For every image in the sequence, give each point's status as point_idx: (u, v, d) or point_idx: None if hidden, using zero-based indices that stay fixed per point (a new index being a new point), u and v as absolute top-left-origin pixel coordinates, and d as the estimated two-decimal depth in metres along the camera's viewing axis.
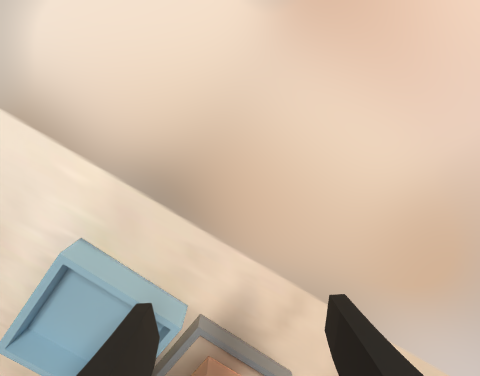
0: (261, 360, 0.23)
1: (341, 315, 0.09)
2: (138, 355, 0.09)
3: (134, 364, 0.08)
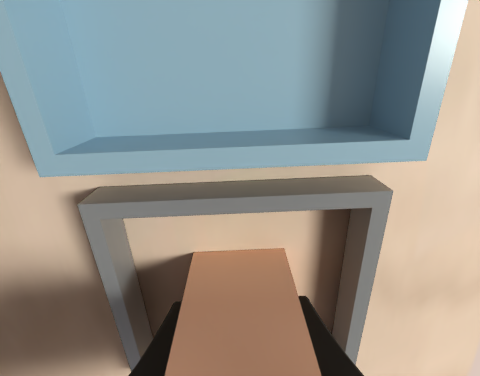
0: None
1: None
2: None
3: None
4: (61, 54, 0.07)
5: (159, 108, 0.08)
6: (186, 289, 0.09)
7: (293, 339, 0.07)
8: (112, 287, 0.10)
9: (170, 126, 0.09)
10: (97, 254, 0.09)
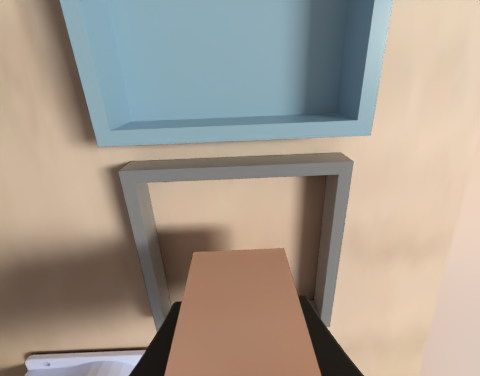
0: None
1: None
2: None
3: None
4: (112, 60, 0.10)
5: (179, 100, 0.11)
6: (186, 289, 0.09)
7: (293, 339, 0.07)
8: (140, 239, 0.13)
9: (187, 113, 0.12)
10: (131, 211, 0.12)
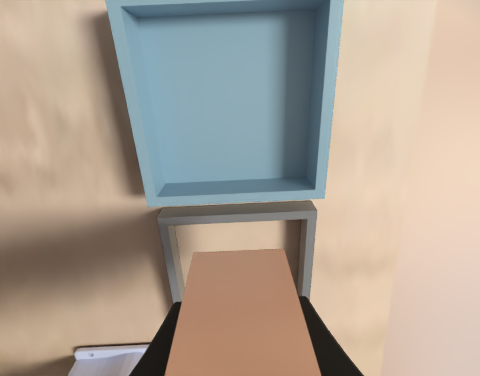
0: None
1: None
2: None
3: None
4: (156, 149, 0.15)
5: (198, 169, 0.17)
6: (186, 289, 0.09)
7: (293, 340, 0.07)
8: (170, 262, 0.18)
9: (203, 178, 0.17)
10: (164, 243, 0.18)
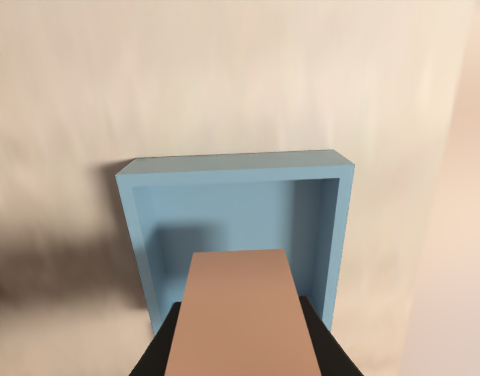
0: None
1: None
2: None
3: None
4: (164, 281, 0.16)
5: None
6: (186, 289, 0.09)
7: (293, 340, 0.07)
8: None
9: None
10: None
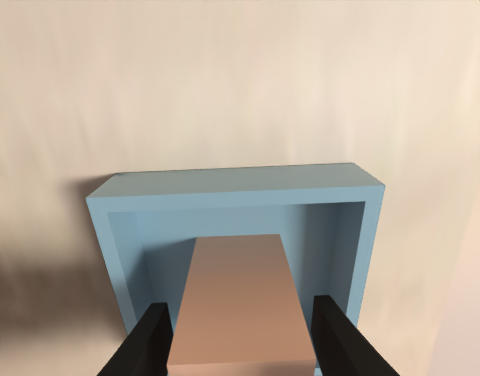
0: None
1: (324, 316, 0.09)
2: (156, 354, 0.09)
3: (152, 363, 0.08)
4: None
5: None
6: (191, 267, 0.10)
7: (285, 306, 0.08)
8: None
9: None
10: None
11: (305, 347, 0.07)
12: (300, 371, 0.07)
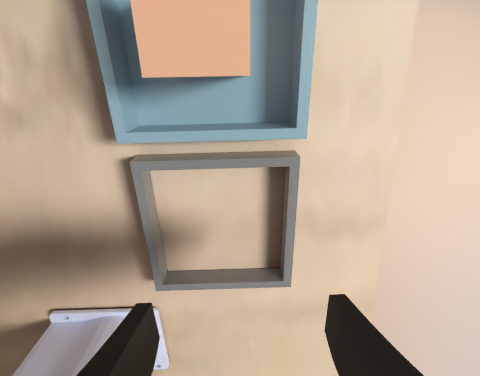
0: None
1: (341, 315, 0.09)
2: (138, 355, 0.09)
3: (134, 364, 0.08)
4: (127, 83, 0.14)
5: (174, 110, 0.16)
6: None
7: None
8: (144, 213, 0.17)
9: (180, 120, 0.16)
10: (138, 191, 0.17)
11: None
12: None
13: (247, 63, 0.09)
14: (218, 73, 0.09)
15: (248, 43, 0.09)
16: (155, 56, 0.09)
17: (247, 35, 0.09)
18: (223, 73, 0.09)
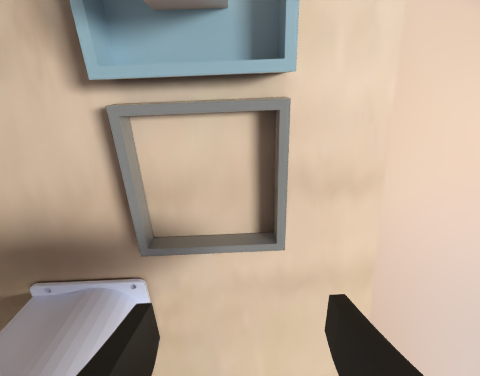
0: None
1: (341, 315, 0.09)
2: (138, 355, 0.09)
3: (134, 364, 0.08)
4: (100, 14, 0.13)
5: (153, 49, 0.14)
6: None
7: None
8: (125, 166, 0.16)
9: (160, 61, 0.15)
10: (116, 141, 0.15)
11: None
12: None
13: None
14: None
15: None
16: None
17: None
18: None
